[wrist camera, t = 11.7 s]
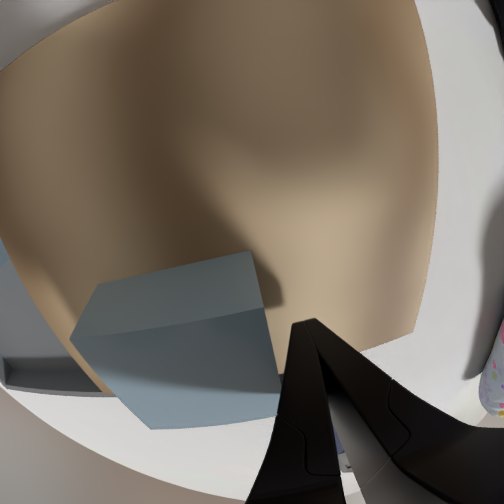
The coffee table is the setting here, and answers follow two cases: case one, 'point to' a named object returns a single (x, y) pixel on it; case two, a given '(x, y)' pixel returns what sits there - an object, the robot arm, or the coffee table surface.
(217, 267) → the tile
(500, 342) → the pencil case
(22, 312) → the tray
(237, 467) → the coffee table surface
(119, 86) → the oak board
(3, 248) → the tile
